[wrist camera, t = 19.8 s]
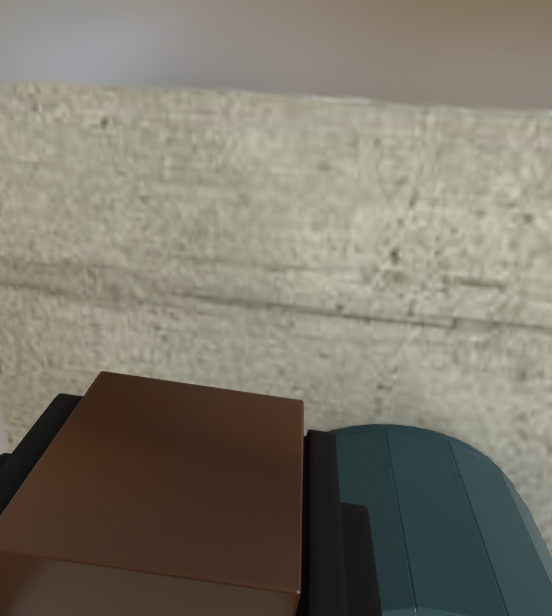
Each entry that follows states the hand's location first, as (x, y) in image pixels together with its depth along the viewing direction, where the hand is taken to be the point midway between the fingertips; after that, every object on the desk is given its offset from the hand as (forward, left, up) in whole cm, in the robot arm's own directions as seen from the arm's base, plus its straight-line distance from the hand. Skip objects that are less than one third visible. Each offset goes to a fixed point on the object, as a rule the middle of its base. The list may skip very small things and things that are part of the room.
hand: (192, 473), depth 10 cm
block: (0, 0, 0) cm, 0 cm away
